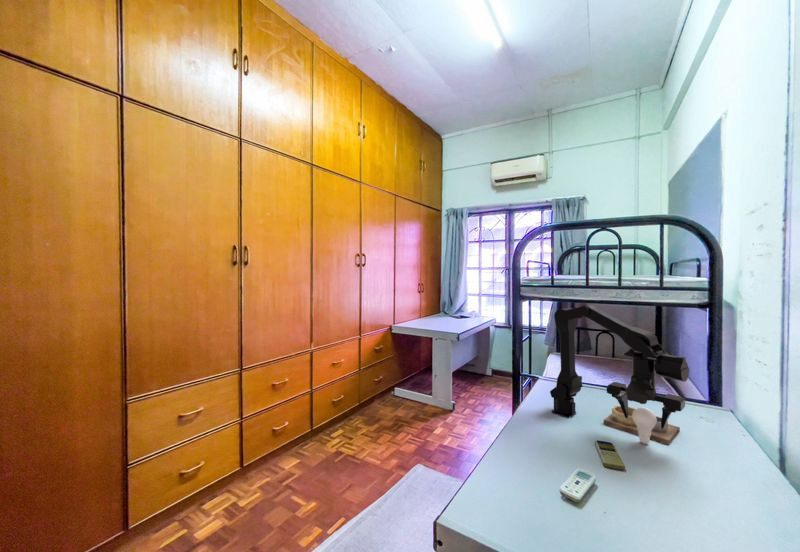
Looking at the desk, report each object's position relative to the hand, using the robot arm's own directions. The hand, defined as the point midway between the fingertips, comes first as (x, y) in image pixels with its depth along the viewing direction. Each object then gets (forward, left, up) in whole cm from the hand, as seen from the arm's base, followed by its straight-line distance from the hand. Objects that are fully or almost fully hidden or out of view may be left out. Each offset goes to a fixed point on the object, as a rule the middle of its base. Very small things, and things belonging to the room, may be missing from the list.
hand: (643, 422), depth 100 cm
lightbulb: (0, 0, -7) cm, 7 cm away
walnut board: (-4, +11, -6) cm, 13 cm away
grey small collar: (+1, +11, -5) cm, 12 cm away
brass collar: (-7, +11, -5) cm, 14 cm away
